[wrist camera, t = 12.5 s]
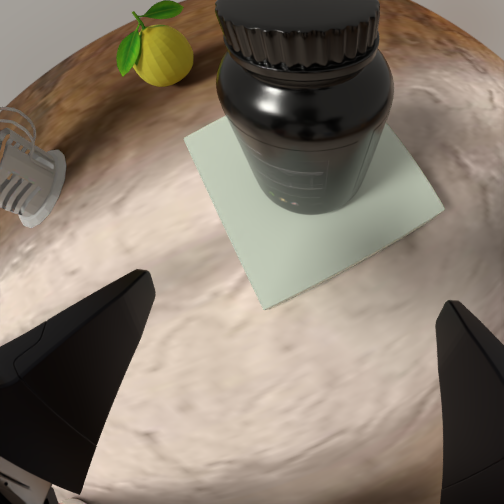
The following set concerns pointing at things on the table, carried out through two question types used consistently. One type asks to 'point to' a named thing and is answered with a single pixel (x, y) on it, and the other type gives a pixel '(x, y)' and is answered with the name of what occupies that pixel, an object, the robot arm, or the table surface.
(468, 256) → the table surface
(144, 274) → the robot arm
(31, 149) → the french press
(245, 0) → the supplement bottle
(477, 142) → the table surface
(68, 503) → the fruit juice
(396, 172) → the plinth
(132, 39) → the lemon
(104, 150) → the table surface
